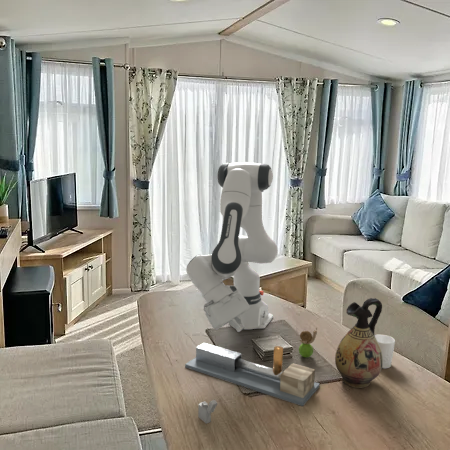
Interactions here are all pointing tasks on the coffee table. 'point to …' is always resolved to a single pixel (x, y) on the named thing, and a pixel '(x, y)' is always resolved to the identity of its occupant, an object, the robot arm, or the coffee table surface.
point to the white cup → (386, 348)
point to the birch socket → (297, 380)
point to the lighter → (206, 410)
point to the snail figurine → (307, 343)
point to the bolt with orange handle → (263, 370)
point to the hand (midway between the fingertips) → (241, 329)
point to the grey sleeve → (217, 356)
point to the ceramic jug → (360, 347)
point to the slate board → (251, 381)
